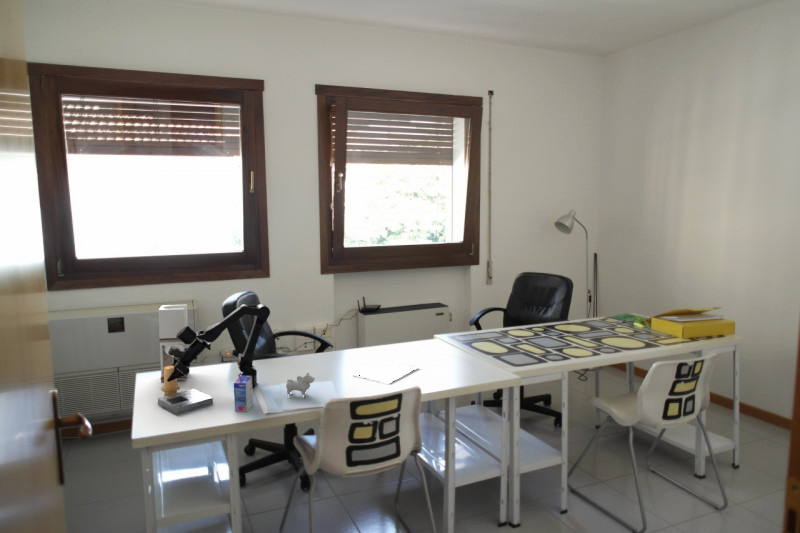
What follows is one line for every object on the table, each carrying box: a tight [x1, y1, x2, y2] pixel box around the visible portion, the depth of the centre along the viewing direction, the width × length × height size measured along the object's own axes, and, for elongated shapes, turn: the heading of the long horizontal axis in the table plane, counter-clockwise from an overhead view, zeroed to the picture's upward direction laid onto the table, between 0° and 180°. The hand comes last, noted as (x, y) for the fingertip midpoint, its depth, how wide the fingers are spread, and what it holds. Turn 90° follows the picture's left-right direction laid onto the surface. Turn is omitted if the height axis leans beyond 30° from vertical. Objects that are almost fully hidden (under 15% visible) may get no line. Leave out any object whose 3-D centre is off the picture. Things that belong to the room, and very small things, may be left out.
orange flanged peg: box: [160, 366, 181, 396], centre depth 230 cm, size 8×8×13 cm
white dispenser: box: [158, 304, 190, 383], centre depth 253 cm, size 11×11×35 cm
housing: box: [157, 388, 214, 416], centre depth 221 cm, size 16×16×3 cm
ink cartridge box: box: [233, 372, 254, 412], centre depth 219 cm, size 10×6×14 cm, turn 2°
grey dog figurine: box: [285, 372, 316, 396], centre depth 233 cm, size 5×13×11 cm, turn 89°
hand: (167, 377), depth 229 cm, fingers open, 9 cm apart
